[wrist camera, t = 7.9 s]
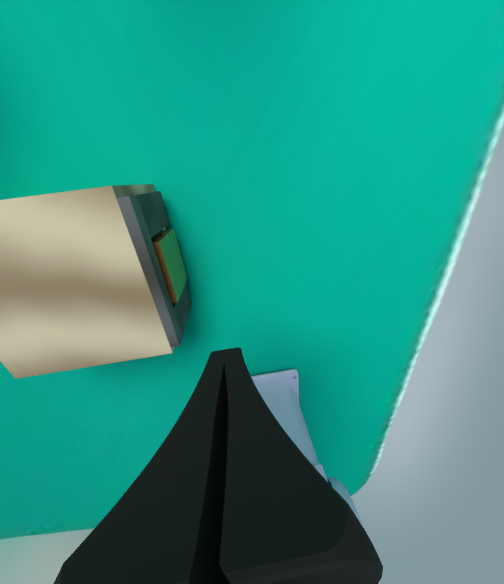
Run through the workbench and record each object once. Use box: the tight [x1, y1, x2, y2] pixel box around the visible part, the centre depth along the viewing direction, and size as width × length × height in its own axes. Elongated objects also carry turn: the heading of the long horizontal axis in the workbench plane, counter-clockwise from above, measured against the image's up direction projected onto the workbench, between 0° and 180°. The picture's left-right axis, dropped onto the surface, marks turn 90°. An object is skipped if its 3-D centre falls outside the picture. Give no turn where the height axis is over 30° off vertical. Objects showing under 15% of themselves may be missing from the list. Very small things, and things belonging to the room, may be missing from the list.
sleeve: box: [0, 184, 191, 379], centre depth 15 cm, size 10×11×6 cm
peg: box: [151, 228, 187, 303], centre depth 15 cm, size 4×14×4 cm, turn 97°
